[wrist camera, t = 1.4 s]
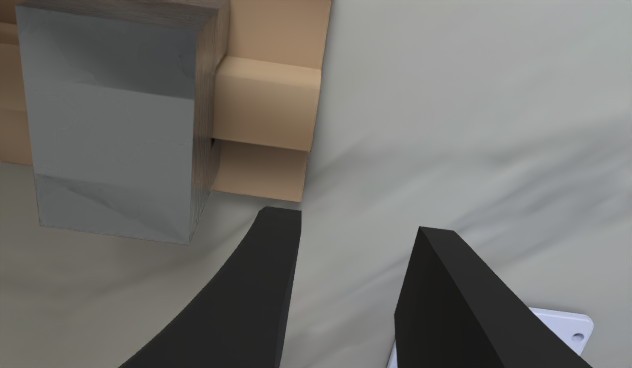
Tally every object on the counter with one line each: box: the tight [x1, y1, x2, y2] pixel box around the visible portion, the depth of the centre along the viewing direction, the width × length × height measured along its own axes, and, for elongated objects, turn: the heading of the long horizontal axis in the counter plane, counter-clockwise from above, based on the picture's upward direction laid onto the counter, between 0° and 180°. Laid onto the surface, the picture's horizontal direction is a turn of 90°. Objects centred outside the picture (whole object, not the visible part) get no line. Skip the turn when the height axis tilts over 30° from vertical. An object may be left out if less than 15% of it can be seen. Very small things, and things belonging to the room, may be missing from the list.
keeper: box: [15, 0, 231, 245], centre depth 16 cm, size 6×4×5 cm
